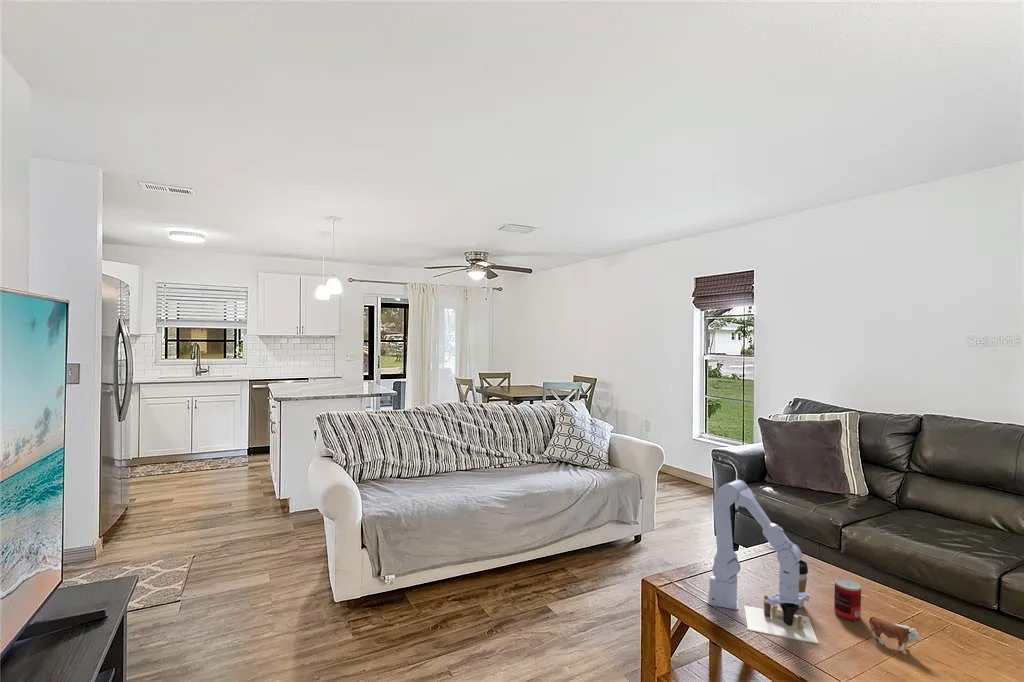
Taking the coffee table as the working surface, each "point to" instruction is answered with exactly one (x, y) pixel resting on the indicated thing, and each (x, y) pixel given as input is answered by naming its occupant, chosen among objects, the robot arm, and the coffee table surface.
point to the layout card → (777, 626)
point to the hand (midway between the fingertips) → (788, 624)
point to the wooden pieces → (767, 606)
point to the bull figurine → (894, 632)
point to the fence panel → (778, 614)
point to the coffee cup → (802, 579)
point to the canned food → (847, 599)
